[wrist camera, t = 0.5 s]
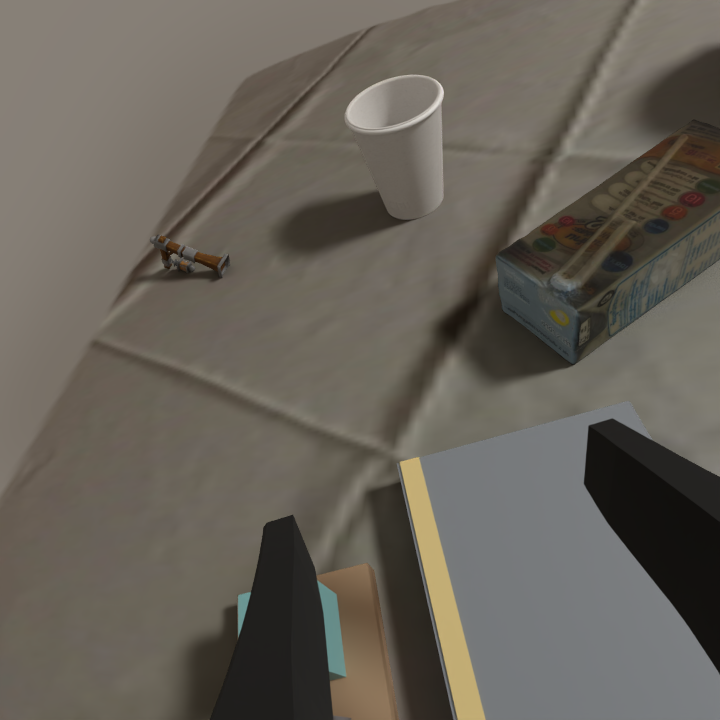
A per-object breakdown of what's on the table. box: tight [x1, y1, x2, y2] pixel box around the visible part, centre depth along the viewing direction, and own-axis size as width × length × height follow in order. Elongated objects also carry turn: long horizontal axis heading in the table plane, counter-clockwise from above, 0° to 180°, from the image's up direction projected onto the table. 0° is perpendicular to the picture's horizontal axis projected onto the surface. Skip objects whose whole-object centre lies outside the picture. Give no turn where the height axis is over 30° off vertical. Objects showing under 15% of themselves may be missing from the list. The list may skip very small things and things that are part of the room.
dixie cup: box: [345, 75, 444, 220], centre depth 46 cm, size 8×8×10 cm
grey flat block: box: [397, 401, 720, 720], centre depth 25 cm, size 20×14×3 cm
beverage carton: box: [496, 120, 720, 364], centre depth 36 cm, size 8×19×7 cm, turn 122°
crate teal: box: [238, 580, 346, 681], centre depth 26 cm, size 4×4×4 cm
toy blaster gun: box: [150, 235, 230, 278], centre depth 52 cm, size 2×8×4 cm, turn 71°
